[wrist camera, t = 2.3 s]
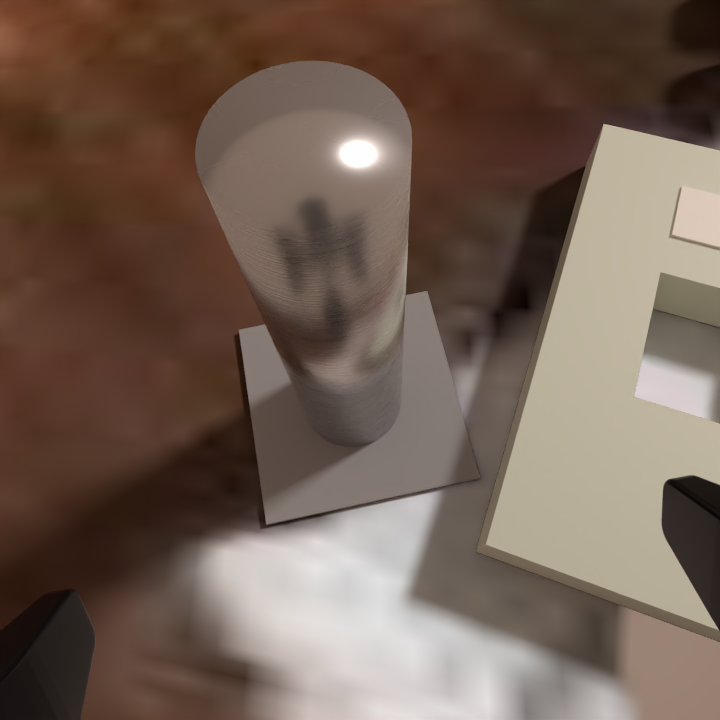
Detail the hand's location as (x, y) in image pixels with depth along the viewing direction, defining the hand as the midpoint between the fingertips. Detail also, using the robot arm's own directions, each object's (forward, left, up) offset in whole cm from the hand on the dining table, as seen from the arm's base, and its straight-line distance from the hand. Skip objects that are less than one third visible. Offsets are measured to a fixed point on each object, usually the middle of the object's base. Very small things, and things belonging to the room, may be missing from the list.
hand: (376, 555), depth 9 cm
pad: (0, +7, -13) cm, 15 cm away
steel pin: (0, +7, -13) cm, 14 cm away
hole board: (+13, +5, -13) cm, 19 cm away
